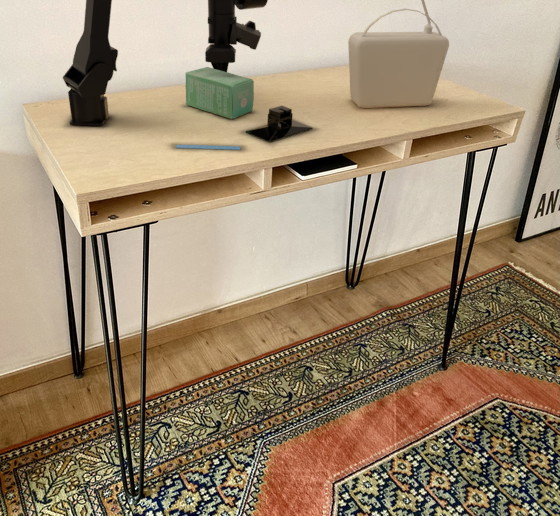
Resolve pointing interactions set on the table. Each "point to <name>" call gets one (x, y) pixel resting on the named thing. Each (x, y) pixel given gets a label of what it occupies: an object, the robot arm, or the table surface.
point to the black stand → (279, 126)
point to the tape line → (209, 147)
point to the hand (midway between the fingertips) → (222, 84)
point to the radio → (396, 66)
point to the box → (219, 92)
